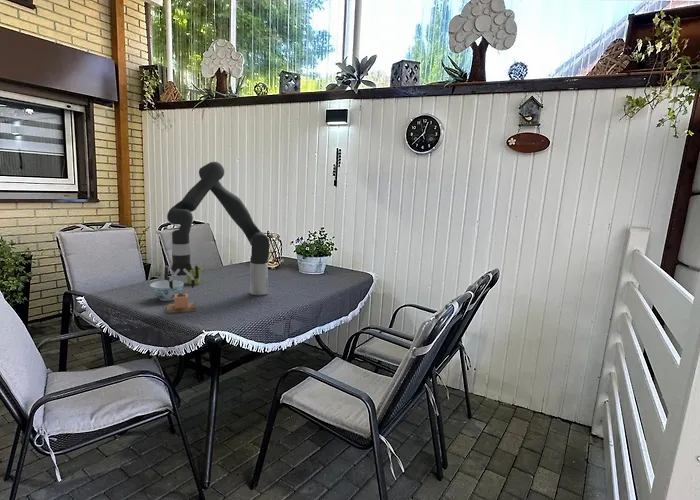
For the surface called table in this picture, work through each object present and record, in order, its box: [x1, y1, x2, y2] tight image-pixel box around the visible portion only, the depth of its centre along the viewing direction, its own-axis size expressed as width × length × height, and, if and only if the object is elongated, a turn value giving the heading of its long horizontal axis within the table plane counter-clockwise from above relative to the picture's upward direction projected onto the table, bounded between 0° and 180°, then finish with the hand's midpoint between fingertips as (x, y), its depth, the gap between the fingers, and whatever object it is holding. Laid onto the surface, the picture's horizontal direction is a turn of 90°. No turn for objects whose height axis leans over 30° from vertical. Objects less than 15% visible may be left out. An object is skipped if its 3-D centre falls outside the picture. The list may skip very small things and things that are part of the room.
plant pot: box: [186, 267, 203, 285], centre depth 222 cm, size 9×9×9 cm
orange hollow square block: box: [173, 293, 189, 308], centre depth 177 cm, size 6×6×5 cm
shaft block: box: [166, 292, 197, 314], centre depth 177 cm, size 12×8×8 cm, turn 112°
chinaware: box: [149, 279, 184, 302], centre depth 191 cm, size 15×15×8 cm
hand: (182, 288), depth 176 cm, fingers open, 8 cm apart
